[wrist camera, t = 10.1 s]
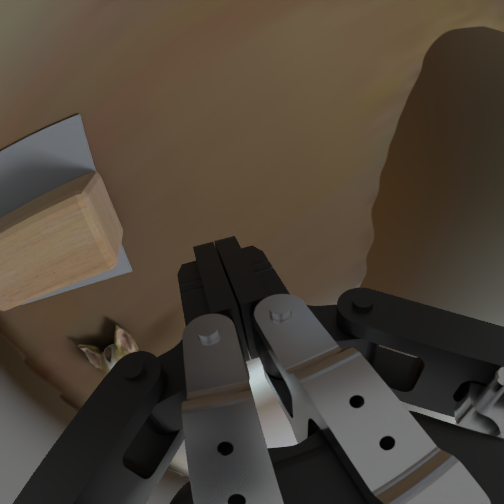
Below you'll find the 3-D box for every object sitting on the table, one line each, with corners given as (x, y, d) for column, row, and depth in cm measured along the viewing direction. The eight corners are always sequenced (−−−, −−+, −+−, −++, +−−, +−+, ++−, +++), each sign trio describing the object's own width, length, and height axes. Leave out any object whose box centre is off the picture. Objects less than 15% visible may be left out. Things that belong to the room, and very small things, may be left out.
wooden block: (126, 232, 40) (21, 275, 38) (99, 167, 35) (-9, 221, 32) (119, 270, 32) (0, 316, 29) (82, 189, 26) (-39, 254, 24)
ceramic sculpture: (127, 415, 47) (70, 370, 40) (127, 382, 55) (78, 336, 47) (172, 397, 48) (116, 346, 40) (168, 363, 55) (120, 312, 48)
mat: (-38, 174, 27) (-39, 175, 27) (80, 113, 31) (79, 114, 31) (22, 303, 40) (21, 305, 40) (132, 269, 44) (132, 271, 43)
